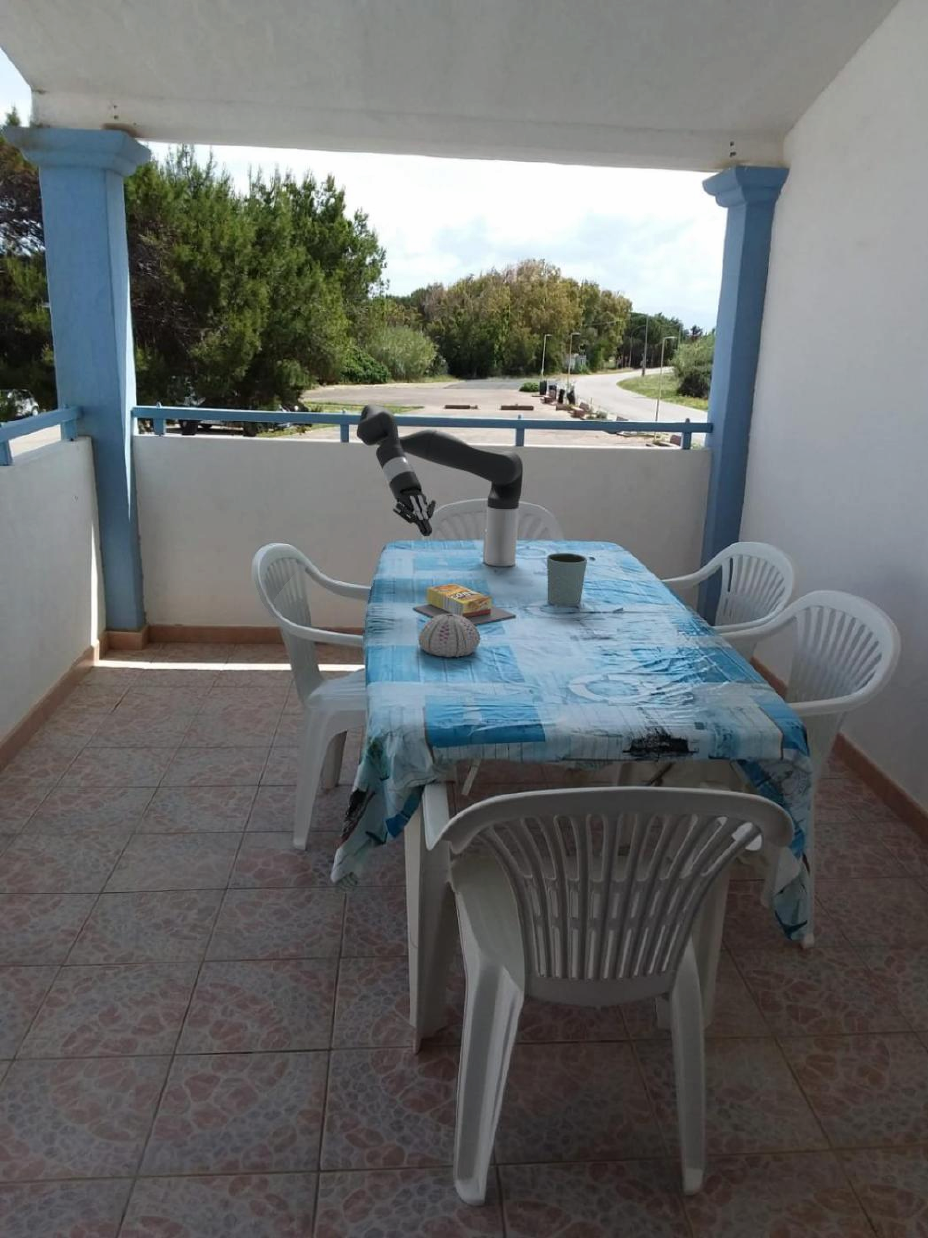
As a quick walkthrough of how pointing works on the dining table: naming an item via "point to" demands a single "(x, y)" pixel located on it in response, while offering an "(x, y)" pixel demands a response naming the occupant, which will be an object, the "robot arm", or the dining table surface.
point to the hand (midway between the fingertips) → (428, 534)
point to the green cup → (565, 578)
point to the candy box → (458, 600)
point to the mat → (475, 620)
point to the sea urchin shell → (449, 636)
